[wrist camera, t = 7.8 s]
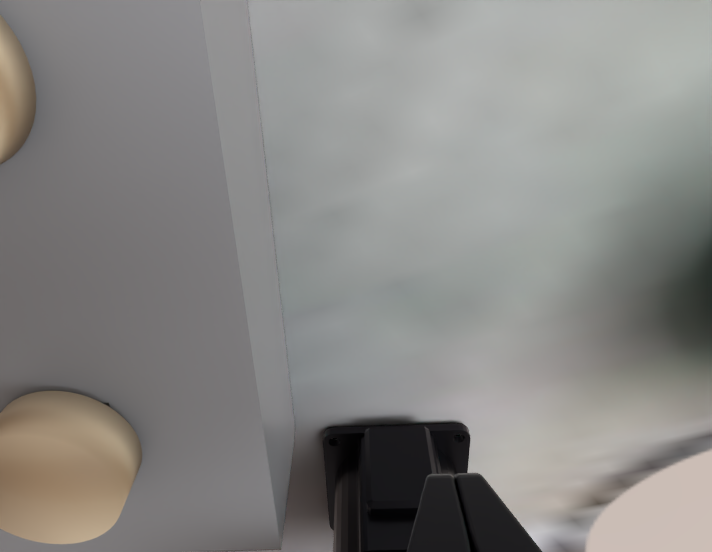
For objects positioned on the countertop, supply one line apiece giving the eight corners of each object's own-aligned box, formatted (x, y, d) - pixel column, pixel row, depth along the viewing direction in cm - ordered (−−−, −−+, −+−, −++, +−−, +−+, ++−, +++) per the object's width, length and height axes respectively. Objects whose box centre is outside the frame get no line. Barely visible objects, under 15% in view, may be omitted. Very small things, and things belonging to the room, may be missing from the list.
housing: (295, 429, 26) (281, 549, 21) (30, 437, 26) (-52, 558, 21) (225, -192, 15) (159, -273, 10) (-224, -174, 15) (-525, -244, 10)
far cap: (190, 395, 23) (137, 542, 17) (81, 399, 23) (-9, 546, 17) (170, 302, 21) (100, 433, 15) (49, 305, 21) (-66, 437, 15)
